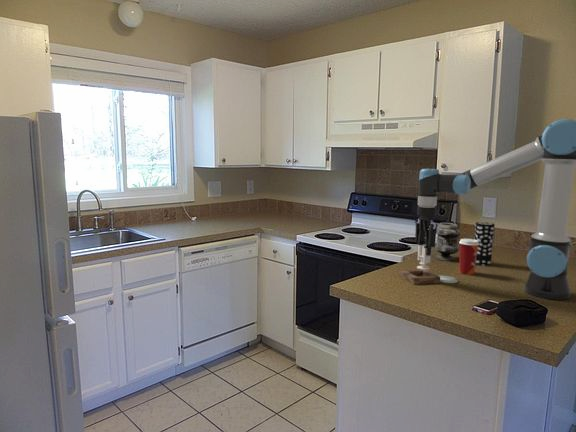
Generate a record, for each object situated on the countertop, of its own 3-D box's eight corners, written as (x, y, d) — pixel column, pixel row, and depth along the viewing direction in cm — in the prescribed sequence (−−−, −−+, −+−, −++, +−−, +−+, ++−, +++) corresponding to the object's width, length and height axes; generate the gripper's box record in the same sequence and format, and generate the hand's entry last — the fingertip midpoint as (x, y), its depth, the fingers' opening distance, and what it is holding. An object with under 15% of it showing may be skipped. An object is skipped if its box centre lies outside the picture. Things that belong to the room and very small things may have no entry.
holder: (439, 282, 172) (440, 276, 171) (413, 284, 169) (413, 278, 169) (424, 274, 183) (424, 269, 183) (399, 275, 181) (399, 270, 180)
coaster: (462, 282, 172) (462, 281, 172) (443, 283, 170) (443, 282, 170) (449, 276, 181) (449, 275, 181) (430, 277, 179) (431, 276, 179)
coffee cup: (478, 276, 182) (481, 242, 180) (458, 274, 184) (461, 241, 182) (474, 270, 190) (476, 238, 188) (455, 269, 192) (457, 237, 190)
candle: (429, 267, 177) (430, 243, 176) (430, 270, 172) (431, 246, 171) (416, 266, 179) (417, 242, 177) (417, 269, 174) (418, 245, 172)
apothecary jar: (460, 262, 205) (463, 226, 203) (435, 260, 207) (438, 225, 205) (455, 256, 217) (457, 222, 215) (431, 255, 219) (433, 221, 216)
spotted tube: (474, 265, 201) (477, 224, 198) (470, 260, 208) (474, 221, 206) (492, 266, 199) (496, 225, 196) (488, 262, 207) (492, 222, 204)
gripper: (447, 208, 164) (443, 266, 168) (424, 203, 181) (421, 256, 184) (430, 209, 163) (426, 267, 166) (408, 204, 179) (405, 256, 182)
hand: (423, 261), depth 175 cm, fingers closed on candle, 4 cm apart
